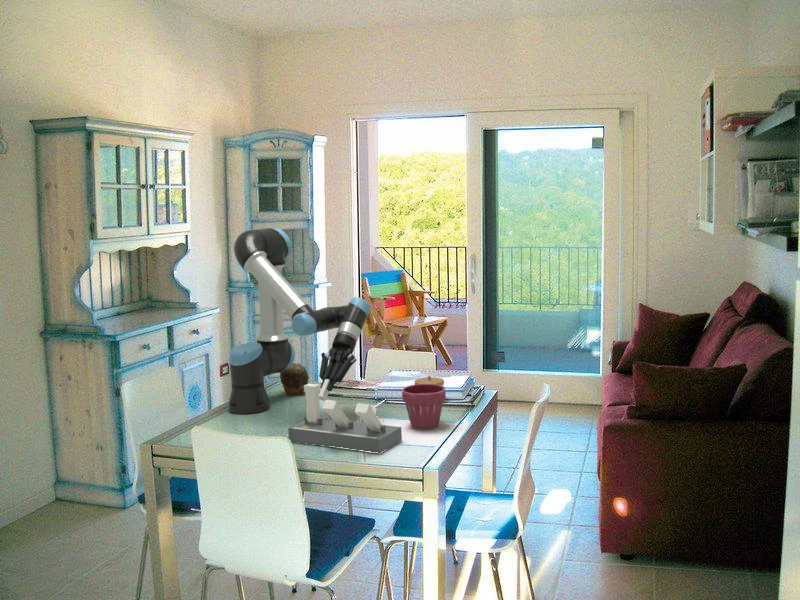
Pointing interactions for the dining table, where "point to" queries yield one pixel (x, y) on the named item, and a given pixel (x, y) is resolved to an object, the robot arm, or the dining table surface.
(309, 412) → the lever
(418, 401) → the plant pot
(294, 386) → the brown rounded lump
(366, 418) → the right lever
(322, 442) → the breaker panel
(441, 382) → the lidded jar
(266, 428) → the dining table surface
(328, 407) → the middle lever
